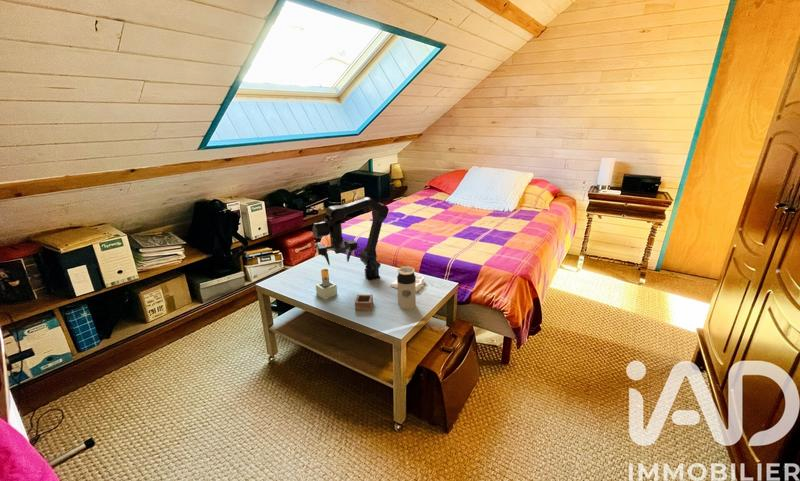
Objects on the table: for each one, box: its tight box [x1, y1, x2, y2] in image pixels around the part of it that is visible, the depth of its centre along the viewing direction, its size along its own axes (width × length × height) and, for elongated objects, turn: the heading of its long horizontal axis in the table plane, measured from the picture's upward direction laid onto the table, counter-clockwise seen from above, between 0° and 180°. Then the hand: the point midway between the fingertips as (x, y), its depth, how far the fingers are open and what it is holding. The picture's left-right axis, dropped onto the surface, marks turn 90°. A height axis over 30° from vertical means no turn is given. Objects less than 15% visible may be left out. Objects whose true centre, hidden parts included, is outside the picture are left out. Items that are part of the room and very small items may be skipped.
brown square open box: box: [354, 294, 374, 312], centre depth 161 cm, size 7×7×5 cm
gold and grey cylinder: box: [320, 268, 330, 288], centre depth 170 cm, size 3×3×12 cm
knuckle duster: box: [389, 274, 425, 293], centre depth 179 cm, size 3×18×15 cm
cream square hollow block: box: [315, 280, 338, 300], centre depth 172 cm, size 7×7×6 cm
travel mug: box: [396, 266, 417, 310], centre depth 159 cm, size 8×8×18 cm
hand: (338, 263), depth 176 cm, fingers open, 9 cm apart
